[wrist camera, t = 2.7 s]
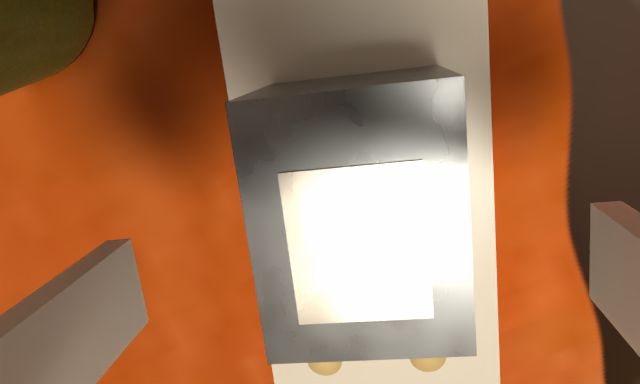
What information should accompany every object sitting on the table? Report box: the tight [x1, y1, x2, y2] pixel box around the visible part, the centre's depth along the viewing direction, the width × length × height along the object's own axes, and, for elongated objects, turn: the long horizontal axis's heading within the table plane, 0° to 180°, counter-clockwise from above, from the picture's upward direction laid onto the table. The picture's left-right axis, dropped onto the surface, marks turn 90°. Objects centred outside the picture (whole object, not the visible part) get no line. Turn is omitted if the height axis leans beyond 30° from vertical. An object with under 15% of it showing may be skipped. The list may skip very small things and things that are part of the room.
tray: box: [212, 0, 500, 384], centre depth 23 cm, size 31×11×6 cm, turn 7°
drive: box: [225, 65, 477, 364], centre depth 20 cm, size 9×7×7 cm
